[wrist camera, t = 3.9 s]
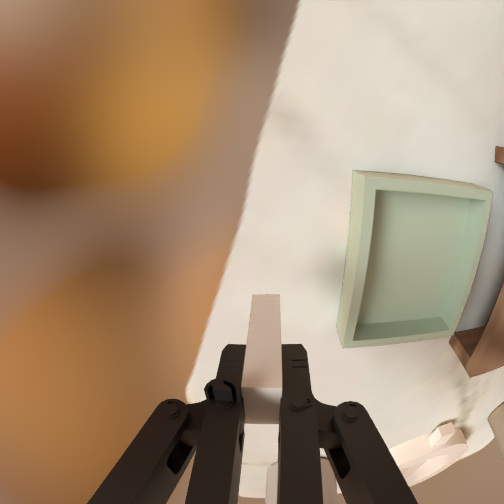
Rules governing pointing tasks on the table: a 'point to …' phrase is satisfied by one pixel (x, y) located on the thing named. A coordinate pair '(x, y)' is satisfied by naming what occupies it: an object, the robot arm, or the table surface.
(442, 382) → the table surface
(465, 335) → the walnut overhang
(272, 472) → the cylinder vase
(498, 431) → the travel mug
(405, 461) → the ring with crossbar
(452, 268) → the green tray
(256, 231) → the table surface
